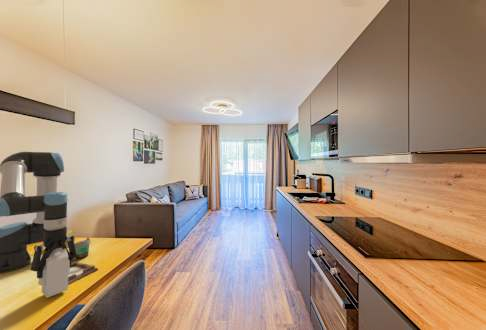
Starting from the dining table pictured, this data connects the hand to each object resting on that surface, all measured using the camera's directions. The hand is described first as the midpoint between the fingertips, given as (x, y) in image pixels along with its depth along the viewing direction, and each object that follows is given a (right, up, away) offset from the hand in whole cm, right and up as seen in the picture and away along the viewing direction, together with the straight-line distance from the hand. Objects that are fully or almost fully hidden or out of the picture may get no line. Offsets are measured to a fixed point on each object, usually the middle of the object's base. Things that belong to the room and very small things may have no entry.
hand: (55, 278), depth 90 cm
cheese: (-43, -7, +52) cm, 68 cm away
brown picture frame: (-6, -7, +15) cm, 18 cm away
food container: (-16, -7, +35) cm, 39 cm away
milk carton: (0, -6, 0) cm, 6 cm away
